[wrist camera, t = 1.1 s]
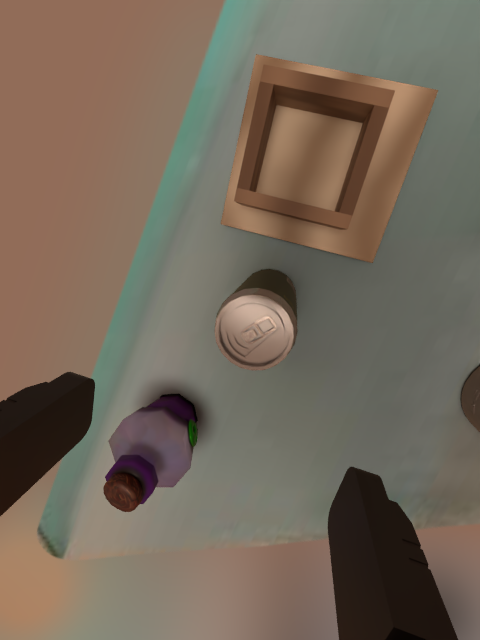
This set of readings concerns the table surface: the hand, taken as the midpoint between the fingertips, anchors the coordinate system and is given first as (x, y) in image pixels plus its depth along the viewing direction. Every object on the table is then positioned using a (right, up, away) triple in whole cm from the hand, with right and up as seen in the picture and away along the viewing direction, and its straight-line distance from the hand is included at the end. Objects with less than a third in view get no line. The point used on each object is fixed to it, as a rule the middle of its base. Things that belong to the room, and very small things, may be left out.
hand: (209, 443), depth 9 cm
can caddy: (+8, +17, +17) cm, 25 cm away
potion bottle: (-7, -8, +27) cm, 29 cm away
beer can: (+4, +6, +21) cm, 22 cm away
